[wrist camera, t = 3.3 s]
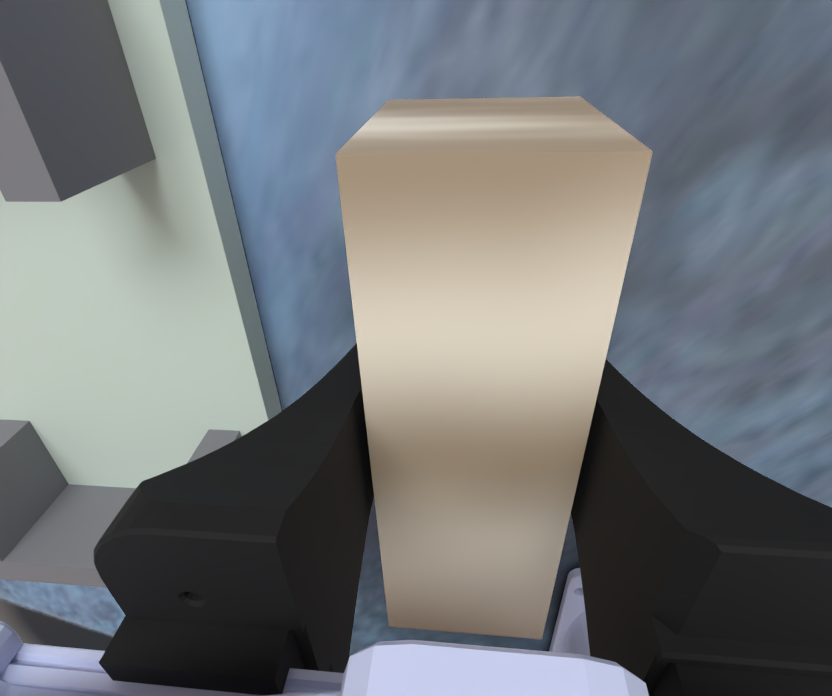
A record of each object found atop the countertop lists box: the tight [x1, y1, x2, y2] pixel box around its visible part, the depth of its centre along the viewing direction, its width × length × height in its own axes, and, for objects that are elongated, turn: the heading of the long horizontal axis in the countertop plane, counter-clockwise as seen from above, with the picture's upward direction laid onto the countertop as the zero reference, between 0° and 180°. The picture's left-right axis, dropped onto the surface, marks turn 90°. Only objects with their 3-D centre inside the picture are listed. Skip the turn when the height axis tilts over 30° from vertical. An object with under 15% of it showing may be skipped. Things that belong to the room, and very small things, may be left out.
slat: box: [335, 97, 653, 639], centre depth 12 cm, size 12×4×5 cm, turn 2°
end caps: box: [0, 0, 282, 588], centre depth 12 cm, size 18×10×4 cm, turn 2°
